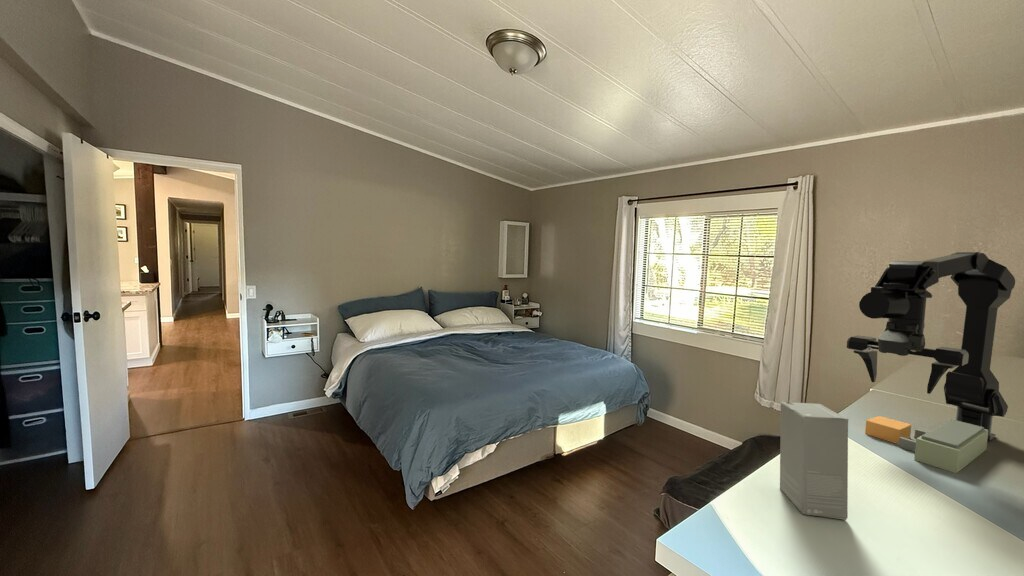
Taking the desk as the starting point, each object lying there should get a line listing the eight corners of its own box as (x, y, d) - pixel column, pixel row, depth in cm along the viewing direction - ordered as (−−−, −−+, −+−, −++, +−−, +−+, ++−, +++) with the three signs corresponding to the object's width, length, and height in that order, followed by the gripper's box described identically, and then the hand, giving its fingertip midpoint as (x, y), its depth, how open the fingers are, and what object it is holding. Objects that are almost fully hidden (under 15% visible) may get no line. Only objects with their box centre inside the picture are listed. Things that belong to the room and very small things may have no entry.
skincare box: (848, 522, 62) (857, 421, 61) (796, 515, 63) (804, 415, 62) (818, 491, 70) (825, 402, 69) (772, 486, 72) (779, 398, 71)
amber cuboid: (877, 429, 100) (878, 415, 100) (910, 439, 95) (911, 424, 95) (864, 434, 96) (866, 420, 96) (898, 445, 91) (899, 429, 91)
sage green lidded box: (923, 432, 98) (925, 412, 98) (986, 449, 90) (988, 427, 89) (888, 451, 87) (891, 428, 87) (956, 473, 78) (959, 447, 78)
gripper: (839, 314, 93) (834, 381, 94) (959, 326, 77) (951, 406, 78) (858, 312, 99) (853, 375, 100) (972, 323, 83) (965, 397, 84)
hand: (900, 387), depth 90 cm, fingers open, 9 cm apart
